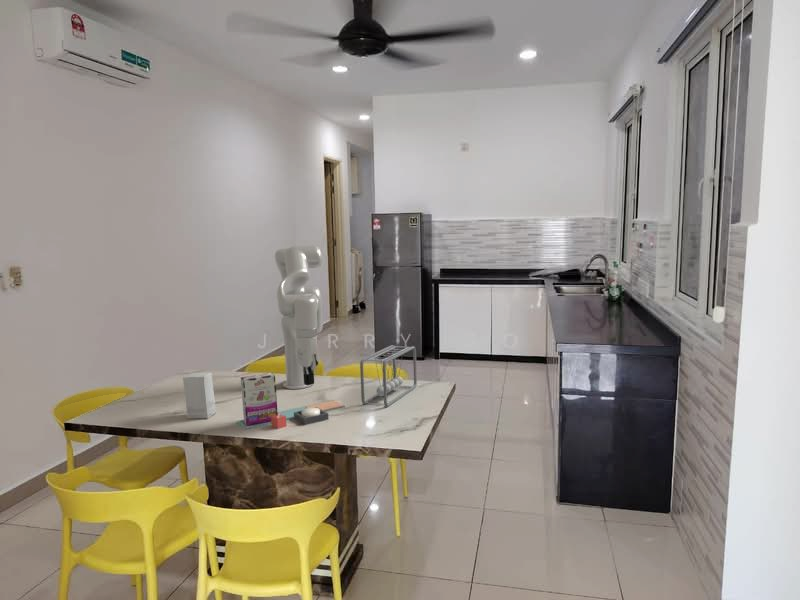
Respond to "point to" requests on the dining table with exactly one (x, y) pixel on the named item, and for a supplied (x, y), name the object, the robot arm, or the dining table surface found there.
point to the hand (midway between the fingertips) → (309, 384)
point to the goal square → (326, 405)
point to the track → (287, 413)
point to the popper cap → (310, 412)
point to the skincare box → (199, 395)
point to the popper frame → (312, 419)
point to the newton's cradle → (390, 384)
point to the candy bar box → (259, 398)
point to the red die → (278, 421)
